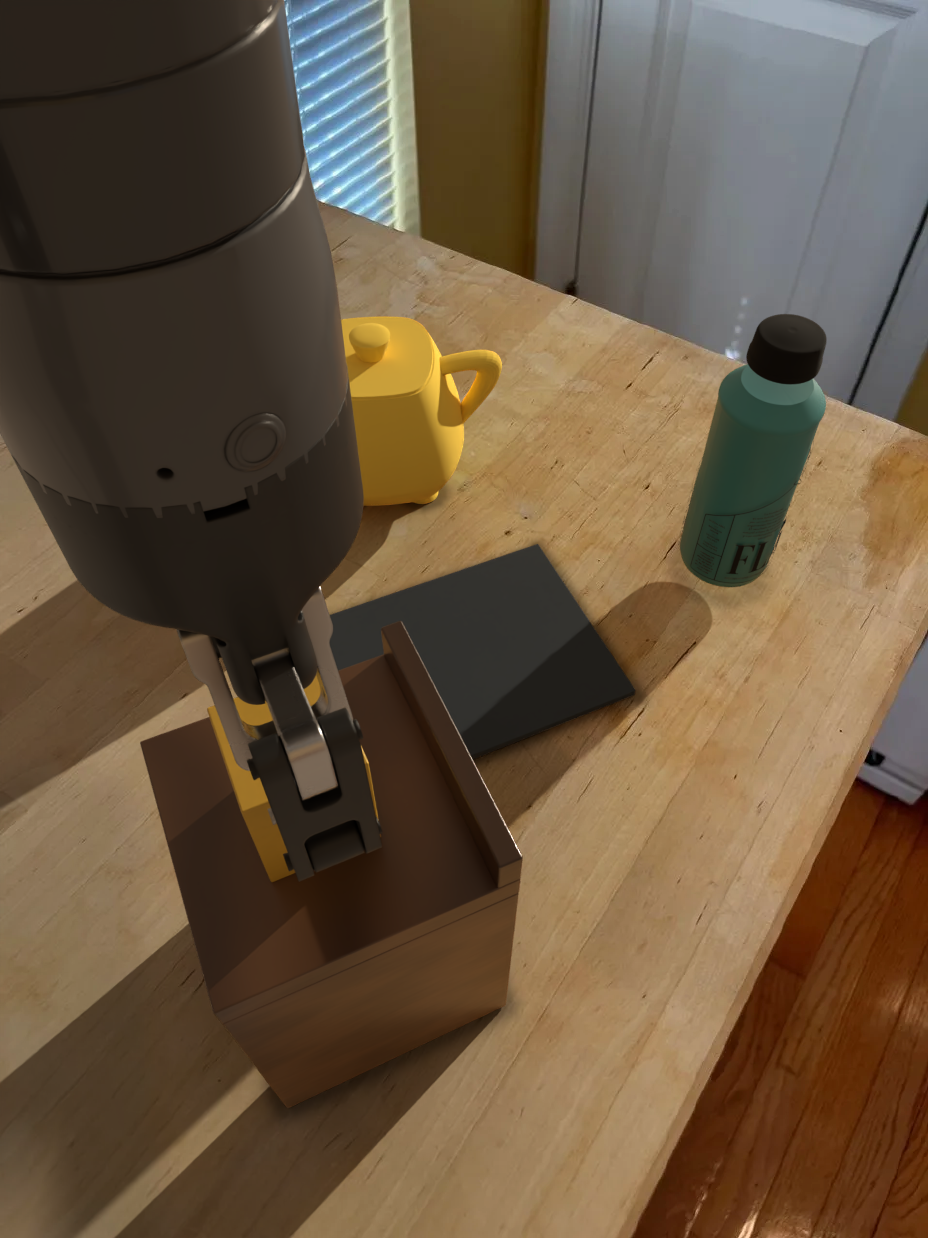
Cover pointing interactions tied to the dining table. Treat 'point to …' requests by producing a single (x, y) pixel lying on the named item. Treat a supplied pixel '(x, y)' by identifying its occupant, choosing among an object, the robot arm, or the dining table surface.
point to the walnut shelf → (349, 893)
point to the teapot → (409, 406)
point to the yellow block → (252, 790)
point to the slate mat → (495, 648)
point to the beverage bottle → (755, 453)
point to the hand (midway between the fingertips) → (288, 745)
